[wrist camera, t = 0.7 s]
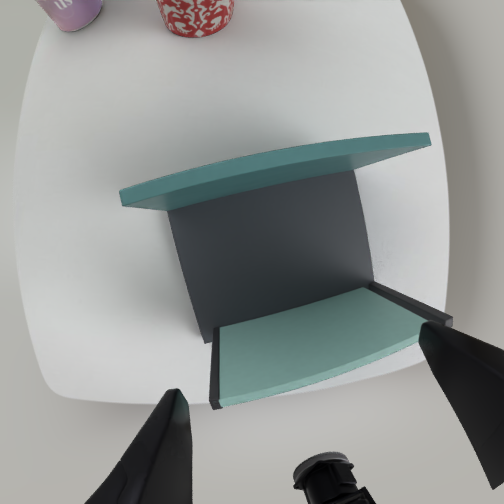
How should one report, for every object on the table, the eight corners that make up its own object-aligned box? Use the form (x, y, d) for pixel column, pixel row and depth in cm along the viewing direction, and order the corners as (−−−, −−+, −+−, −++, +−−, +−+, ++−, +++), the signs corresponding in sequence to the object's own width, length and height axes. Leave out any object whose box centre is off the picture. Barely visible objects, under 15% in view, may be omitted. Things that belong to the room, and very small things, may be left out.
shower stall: (371, 291, 27) (452, 334, 15) (205, 338, 26) (195, 423, 14) (347, 163, 26) (429, 132, 13) (167, 202, 24) (118, 190, 12)
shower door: (365, 308, 26) (435, 353, 15) (220, 350, 25) (220, 429, 14) (363, 285, 26) (436, 323, 15) (212, 327, 25) (208, 400, 14)
